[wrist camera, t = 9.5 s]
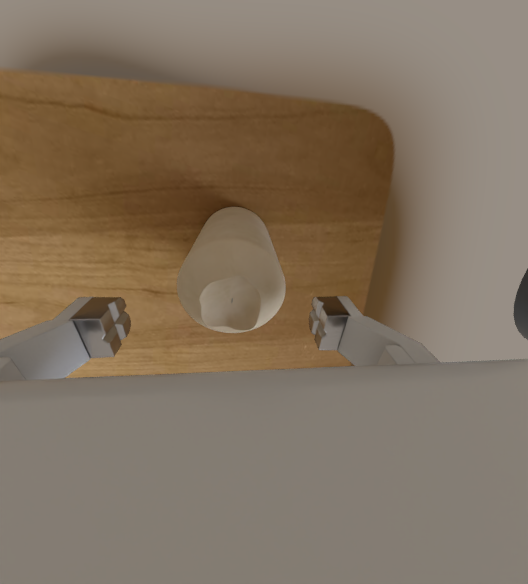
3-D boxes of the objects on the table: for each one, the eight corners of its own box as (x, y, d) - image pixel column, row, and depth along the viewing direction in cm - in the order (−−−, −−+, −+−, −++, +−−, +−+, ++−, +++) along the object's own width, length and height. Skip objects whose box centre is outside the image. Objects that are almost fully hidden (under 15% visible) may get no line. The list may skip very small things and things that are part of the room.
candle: (280, 249, 20) (310, 319, 11) (228, 280, 21) (219, 366, 12) (244, 191, 17) (248, 224, 8) (187, 230, 18) (140, 295, 10)
